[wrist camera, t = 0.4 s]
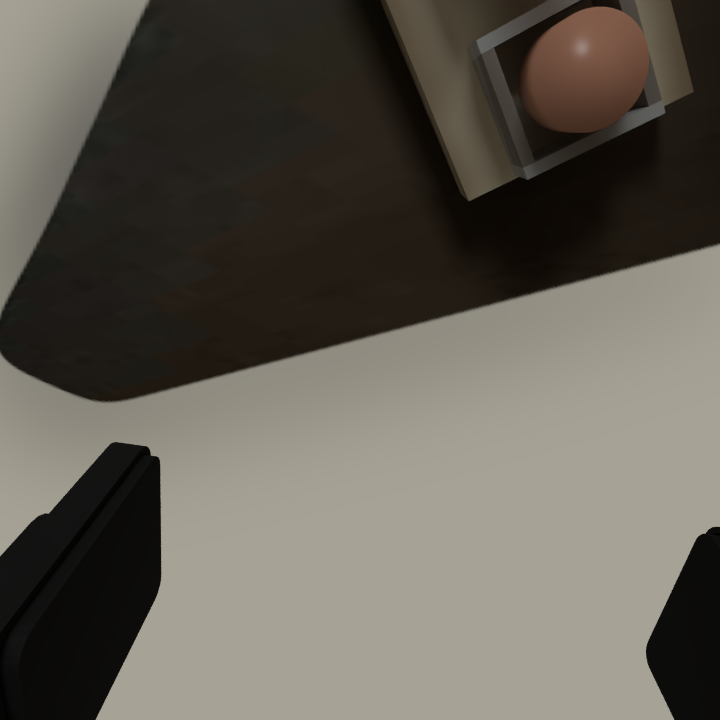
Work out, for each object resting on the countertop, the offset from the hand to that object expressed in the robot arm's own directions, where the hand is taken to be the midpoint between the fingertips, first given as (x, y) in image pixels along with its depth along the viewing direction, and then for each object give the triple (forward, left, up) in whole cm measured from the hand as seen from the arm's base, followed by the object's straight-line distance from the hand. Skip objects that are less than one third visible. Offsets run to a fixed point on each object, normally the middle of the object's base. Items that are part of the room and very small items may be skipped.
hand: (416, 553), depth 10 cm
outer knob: (-11, -5, -21) cm, 24 cm away
